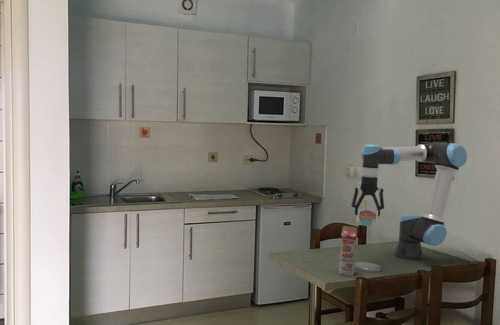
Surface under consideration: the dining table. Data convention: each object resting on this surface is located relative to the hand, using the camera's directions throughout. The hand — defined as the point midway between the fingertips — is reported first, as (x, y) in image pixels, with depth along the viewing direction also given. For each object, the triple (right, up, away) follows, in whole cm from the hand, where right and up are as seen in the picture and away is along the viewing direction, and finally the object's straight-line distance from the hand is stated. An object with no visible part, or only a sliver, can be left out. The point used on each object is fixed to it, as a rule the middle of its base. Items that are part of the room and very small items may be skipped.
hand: (366, 222), depth 226 cm
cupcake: (0, -1, 0) cm, 1 cm away
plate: (+1, -23, +1) cm, 23 cm away
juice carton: (-12, -23, -8) cm, 27 cm away
